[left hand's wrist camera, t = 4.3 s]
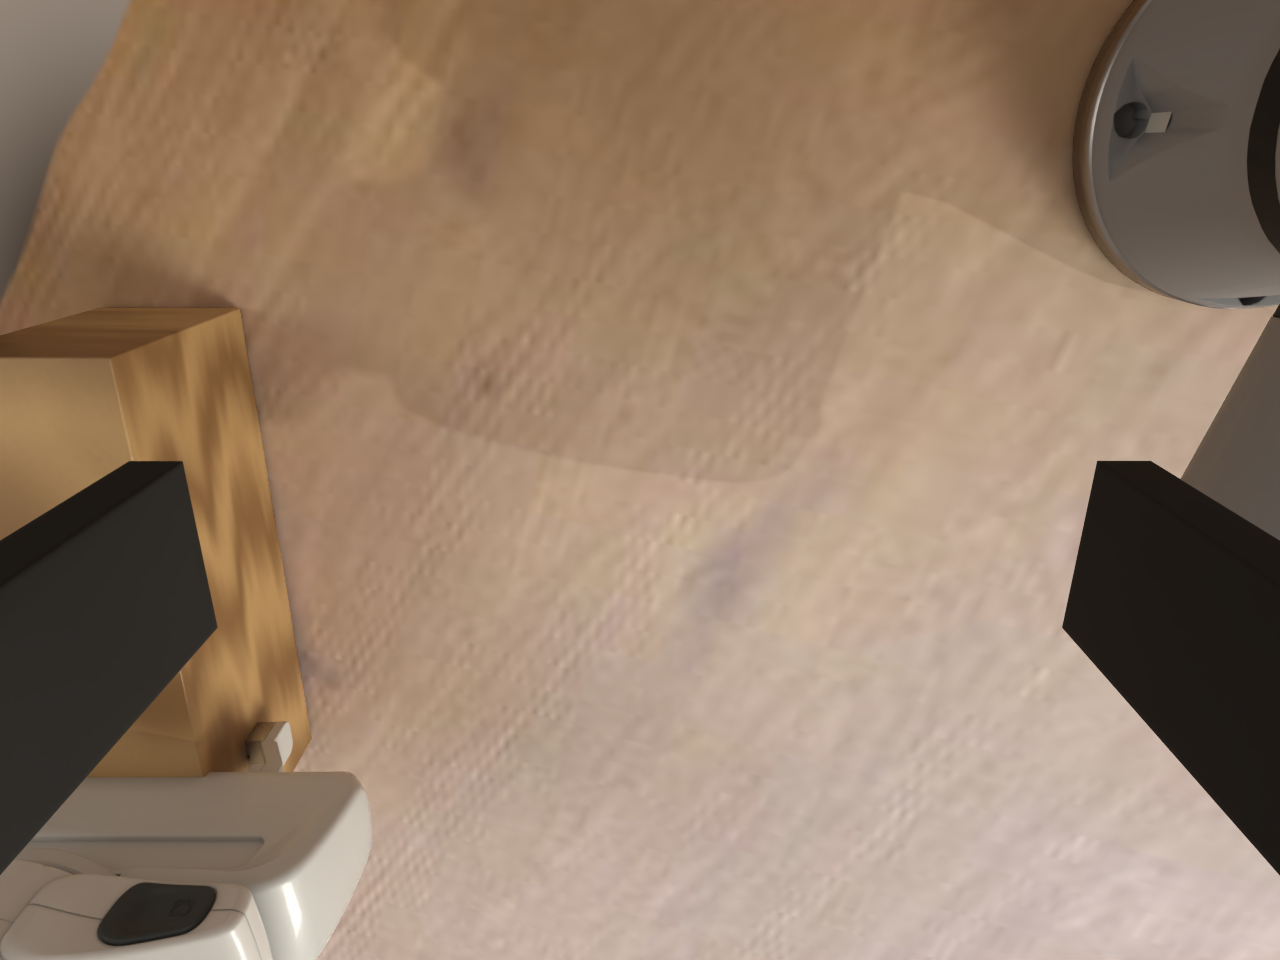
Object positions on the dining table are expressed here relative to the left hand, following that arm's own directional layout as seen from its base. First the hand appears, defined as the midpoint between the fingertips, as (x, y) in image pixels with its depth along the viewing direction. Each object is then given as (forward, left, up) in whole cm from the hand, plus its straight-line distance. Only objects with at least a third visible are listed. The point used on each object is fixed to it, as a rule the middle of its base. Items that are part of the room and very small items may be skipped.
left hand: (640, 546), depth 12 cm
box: (+25, -6, -28) cm, 38 cm away
